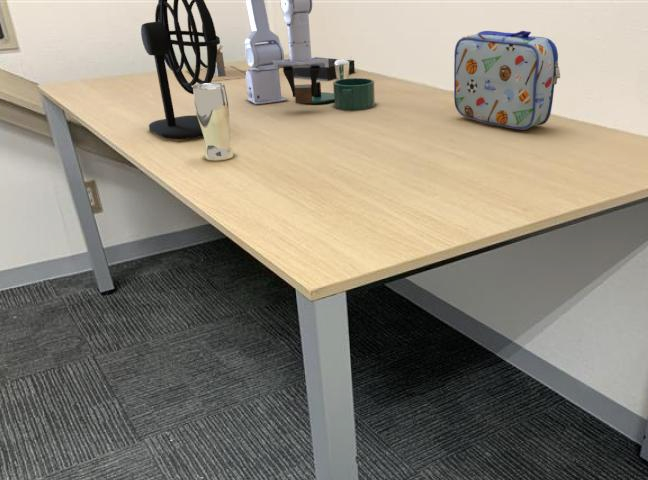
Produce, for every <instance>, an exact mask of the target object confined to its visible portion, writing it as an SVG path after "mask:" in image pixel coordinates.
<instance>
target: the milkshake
mask: <svg viewBox="0 0 648 480" xmlns="http://www.w3.org/2000/svg"><path fill="white" fill-rule="evenodd" d="M337 59H338V60H336V61H335V63H334V64H335V71H336V78H335V79H336V81H337V80H340V79H348V78H350V74H349V61H348V60H351V59H352V55H351V56H350V59H344V58H341V59H340V58H337Z"/></svg>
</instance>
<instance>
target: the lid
mask: <svg viewBox="0 0 648 480" xmlns="http://www.w3.org/2000/svg"><path fill="white" fill-rule="evenodd" d="M321 85H322V83H321V81H320V80H316V84H315V90H314V96H312V103H310V104H312V105H313V104H314V105H315V104H316V105H317V104H325V103H330V102H333V101H334V92H323V91H322V86H321Z"/></svg>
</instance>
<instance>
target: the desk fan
mask: <svg viewBox="0 0 648 480" xmlns="http://www.w3.org/2000/svg"><path fill="white" fill-rule="evenodd" d="M179 1H180V0H173V6H172V5H171V4H170V3H169V2H168V0H158V1H157V4H156V7H155V12H154V13H155V15H154V20H155V21H151V22H144V23H143V24H141V26H140V35H141V40H142V45H143V47H144V50H145V51H146V54H148V55H149V56H153V58H154V62H155V68H156V74H157V79H158V84H159V90H160V96H161V100H162V106H163V112H164V116H165V118H162V119H157V120H154V121H152V122H150V123H149V124H148V129H149V131H150V132H152V133H154V134H155V135H158V136H159V137H161V138H163V139H168V140H176V141H179V140H180V141H181V140H183V141H184V140H191V139H197V138H198V139H199V138H202V137H203V134H202V131H201V128H200V125H199V122H198V118H197V115H196V114H195V115H192V114H191V115H182V116H181V115H180V116H175V111H174V105H173V99H172V94H171V88H170V83H169V77H168V72H167V67H168V69H169V70H170V71H171V72H172V74H173V75H174V78H175V79H176V81H177V83H178V84H179V85H180V87H181V88H182V89H183V90H184V91H185V92H187V93H188V94H191V95H194V93H193V86H195V85H197V84H204V83H212V82H213V81H212V79H213V76H214V73H215V68H216V58H217V49H218V46H219V45H221V40H220V37H219V36H218V35H217V32H216V28H215V27H216V26H215V23H214V20H213V17H212V15H211V13H210V11H209V8H208V7H207V4H206V2H205V0H191V1H190V2H189V1H188V0H181V2H182V4H183V7H184V8H185V10H186V14H187V29H188V30H182V29H181V25H180V22H179ZM194 4H195V5H196V8H197V10H198V13H199V16H200V20H201V24H202V25H201V30H202V32H201V31H198V29H197V28H198V27H197V24H196V20H195V16H194V14H193V11H192V9H193V6H194ZM168 10H169V12H170V13H171V16H172V18H173V26H174V30H170V26H169V25H170V24H169V15H168ZM172 36H175V37H176V39H172ZM183 36H189V41H187V40H186V41H185V40H184V38H183ZM199 37H202V38H203V40H204V41H200V38H199ZM173 45H174V46H178V50H179V53H180V63H179V62H178V59H177V56H176V51H175V49H174V46H173ZM185 47H191V48H192V50H193V54H194V55H195V69H193V68H192V66H191V65H190V63H189V60H188V58H187V55H186V52H185ZM201 47H206V59H207V62H206V63H207V64H206V63H204V62H203V59H202V57H201ZM184 66H185V68H186V71H187V73H189V75H190V76H191V78H192V79H191V81H190V82H189V81H188V80H187V78H186V77H185V74H184V73H183V68H184ZM201 67H203V68H204V69H207V73H206V77H205V80H204V81H202V80H201V79H199V74H200V70H201ZM193 70H195V73H194V72H193ZM203 138H204V137H203Z"/></svg>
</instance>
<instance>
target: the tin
mask: <svg viewBox="0 0 648 480" xmlns="http://www.w3.org/2000/svg"><path fill="white" fill-rule="evenodd" d="M332 84H333V85H332V86H333V93H334V100H333V101H334V102H333V103H334V108H336V109H338V110H343V111H361V110H362V111H363V110H367V109H371V108H373V107H375V105H376V100H375V99H376V98H375V96H376V95H375V81H374V80H373V79H371V78H364V77H351V78H350V77H349V78H348V79H340V80H337V79H336V80H334V81H333V83H332Z"/></svg>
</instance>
